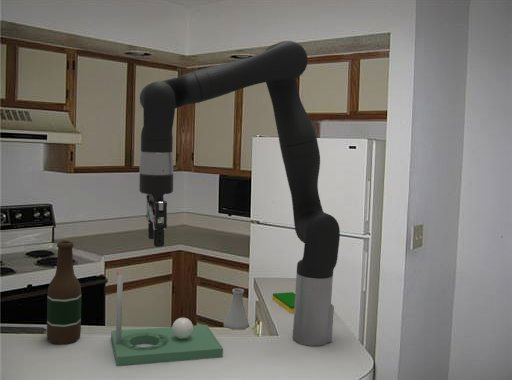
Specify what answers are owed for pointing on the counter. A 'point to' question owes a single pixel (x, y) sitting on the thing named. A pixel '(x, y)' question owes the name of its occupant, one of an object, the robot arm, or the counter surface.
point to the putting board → (159, 341)
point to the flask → (236, 312)
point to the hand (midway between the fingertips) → (155, 242)
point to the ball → (182, 328)
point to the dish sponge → (285, 300)
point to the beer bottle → (64, 300)
